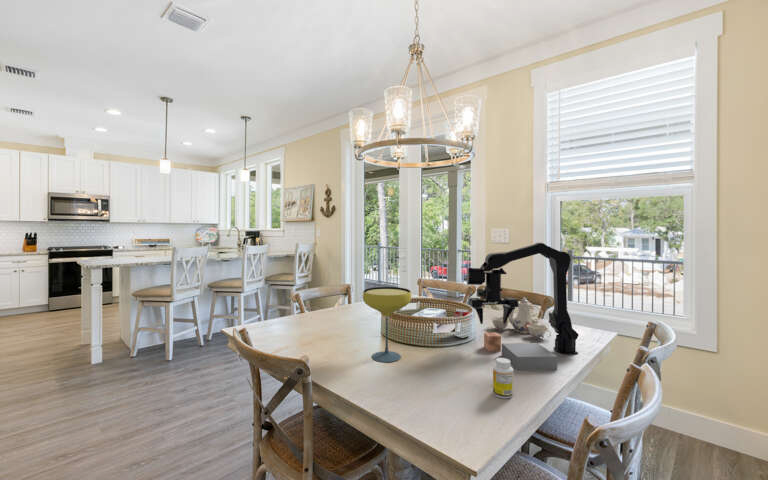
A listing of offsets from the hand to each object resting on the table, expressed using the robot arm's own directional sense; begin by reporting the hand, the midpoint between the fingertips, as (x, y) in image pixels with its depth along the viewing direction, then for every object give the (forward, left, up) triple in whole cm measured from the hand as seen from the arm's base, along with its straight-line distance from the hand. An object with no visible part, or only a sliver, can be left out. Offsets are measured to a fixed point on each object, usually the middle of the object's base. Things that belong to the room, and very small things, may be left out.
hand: (492, 323), depth 139 cm
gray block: (-8, +14, -11) cm, 19 cm away
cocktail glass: (+43, +7, -10) cm, 45 cm away
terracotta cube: (0, 0, -10) cm, 10 cm away
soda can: (+8, -16, -10) cm, 21 cm away
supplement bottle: (+11, +38, -10) cm, 41 cm away
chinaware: (-22, -22, -11) cm, 33 cm away
